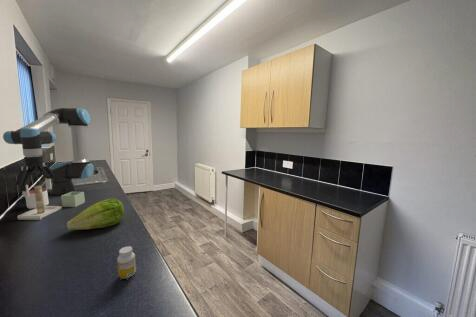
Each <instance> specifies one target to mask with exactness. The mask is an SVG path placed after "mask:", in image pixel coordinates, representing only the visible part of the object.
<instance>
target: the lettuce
mask: <svg viewBox="0 0 476 317" xmlns="http://www.w3.org/2000/svg"><path fill="white" fill-rule="evenodd" d="M124 215H125V207H124V204H123V202H122V201H121V200H119V199H118V198H107V199H103V200H101V201H98V202H96V203H94V204H92V205H90V206H88V207H87V208H86V209H84V210H82V211H81V212H80V213H78V214H77V215H75V216H74V217H73V218H71V219H70V220H68V221H67V222H66V227H67V229H68V230H69V231H77V230H92V229H93V230H94V229H103V228H107V227H111V226H115V225H117V224H119V223H120V221H122V220H123V219H124V218H123V217H124Z"/></svg>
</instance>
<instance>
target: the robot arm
mask: <svg viewBox="0 0 476 317" xmlns="http://www.w3.org/2000/svg"><path fill="white" fill-rule="evenodd" d="M90 123H91V115H90V113H89V112H88V110H86V109H85V108H78V107H77V108H76V107H75V108H74V107H72V108H71V107H70V108H69V107H60V108H55V109H51V110H50V111H48V112H46V113H44V114H43V115H42V117H39V118H37V119H36V120H34V121H32V122H30V123H28V124H26V125H25V126H23V127H20V128H19V129H17V130H8V131H5V132H4V133H3V135H2V138H3V140H4V142H5V143H6V144H9V145H21V146H22V155H23V161H24V162H23V163H24V164H25V166H19V172H18V175H17V178H16V181H15V186H20V192H22V197H23V198H25V197H29V191H30V190H29V185H28V182H29V180H30V179H31V177H32V175H34V174H36V173H40V174H41V175H42V176H43V177H45V178H44V180H45V181H44V183H45V189H46V190H49V194H50V196H51V195H52V196H62V195H64V194H67V193H69V192H77V188H76V186H75V184H74V183H73V179H74V180H77V179H78V180H79V179H82V180H84V179H90V178H91V177H92V176H93V174H94V170H95V169H94V168H95V167H94V164H93V163H91V161H90V160H89V159H88V152H87V151H88V149H87V137H86V136H87V134H86V129H87V128H88V125H90ZM62 124H65V125H66V124H67V125H68V127H69V128H70V132H71V145H72V160H71V161H63V162H57V163H53V164H51V165H50V166H49V163H48V162H44V157H43V148H42V145H50V144H54V143H55V142H56V140H57V135H56V134H55V133H54V132H52V131H48V129H49V128H51V127H53V126H54V127H55V126H57V125H62Z"/></svg>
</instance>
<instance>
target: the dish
mask: <svg viewBox="0 0 476 317" xmlns="http://www.w3.org/2000/svg"><path fill="white" fill-rule="evenodd" d="M62 209H63V207H62V205H46V206H44V210H45V213H42V214H38V213H37V208H32V209H29V210H28V211H25V212H24V213H21V214H19V215H17V220H18V221H41V220H43V219H45V217H47V216H49V215H51V214H53V213H55V212H58V211H60V210H62Z"/></svg>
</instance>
